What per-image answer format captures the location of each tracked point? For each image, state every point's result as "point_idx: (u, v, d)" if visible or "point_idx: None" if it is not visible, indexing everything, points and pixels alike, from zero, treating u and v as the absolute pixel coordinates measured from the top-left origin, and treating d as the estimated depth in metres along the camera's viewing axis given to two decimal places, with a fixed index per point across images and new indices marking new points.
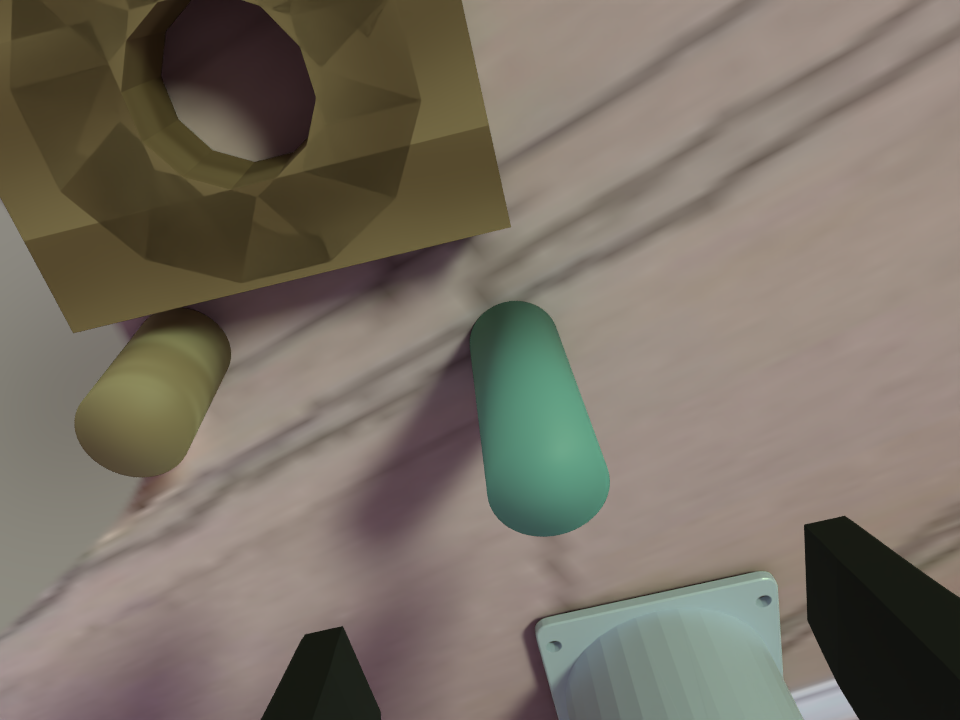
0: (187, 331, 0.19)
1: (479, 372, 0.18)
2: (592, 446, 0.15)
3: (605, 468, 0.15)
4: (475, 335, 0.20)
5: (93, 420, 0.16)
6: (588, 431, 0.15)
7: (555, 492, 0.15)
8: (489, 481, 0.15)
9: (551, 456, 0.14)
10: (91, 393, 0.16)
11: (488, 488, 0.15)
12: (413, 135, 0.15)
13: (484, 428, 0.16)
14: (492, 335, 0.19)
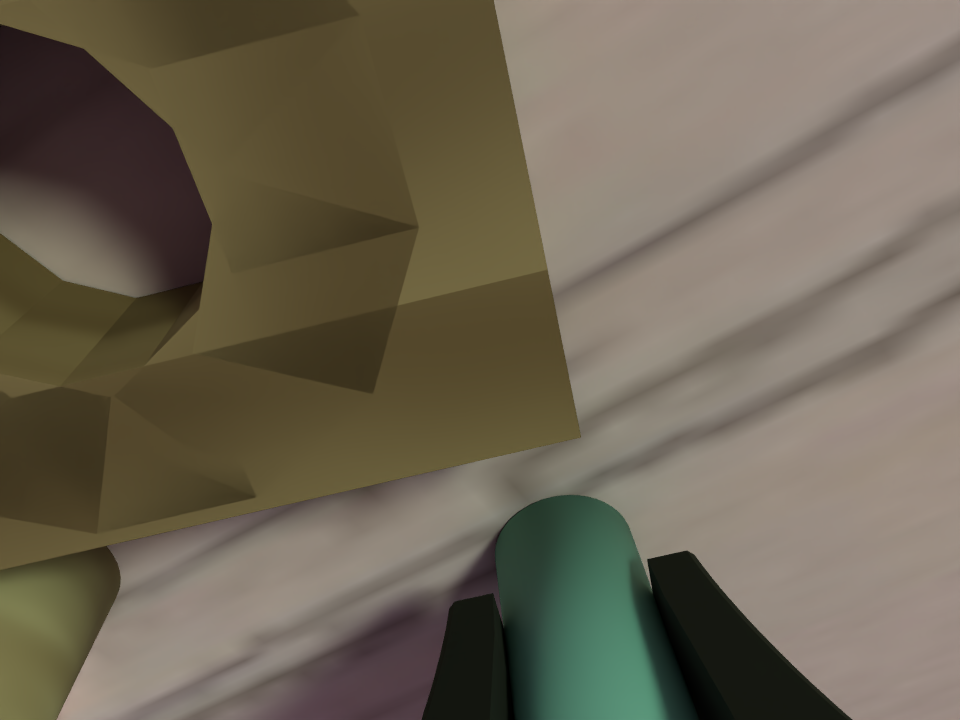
0: (31, 571, 0.11)
1: (517, 652, 0.11)
2: None
3: None
4: (505, 554, 0.12)
5: None
6: None
7: None
8: None
9: None
10: None
11: None
12: (403, 289, 0.08)
13: None
14: (536, 573, 0.11)
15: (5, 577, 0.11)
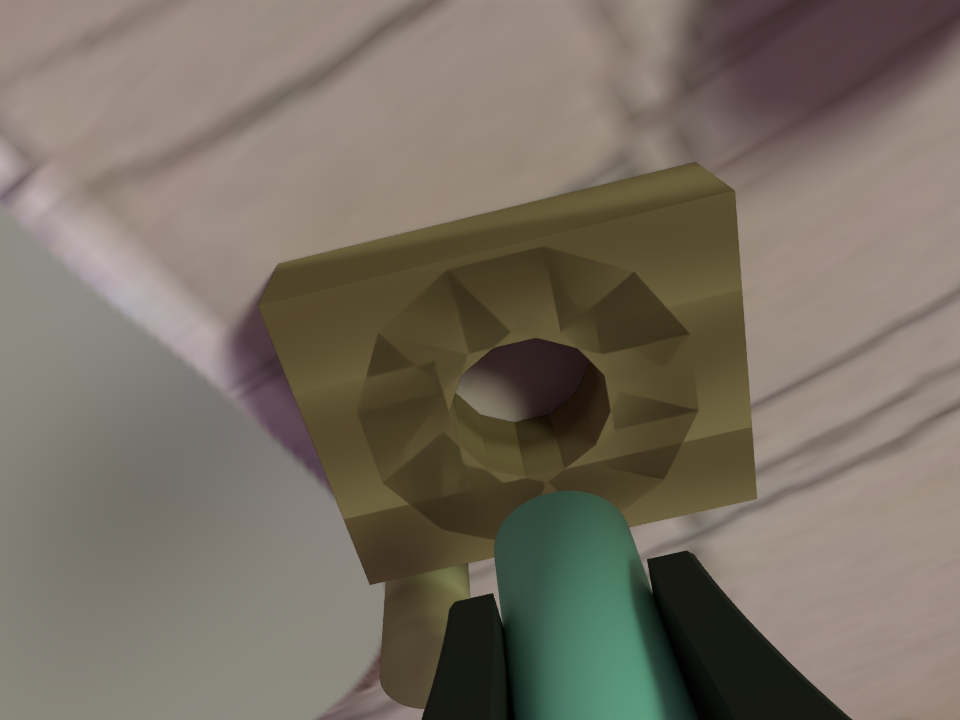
0: None
1: (515, 648, 0.11)
2: None
3: None
4: (503, 552, 0.12)
5: (396, 669, 0.19)
6: None
7: None
8: None
9: None
10: (400, 649, 0.19)
11: None
12: (687, 435, 0.18)
13: None
14: (533, 570, 0.11)
15: None
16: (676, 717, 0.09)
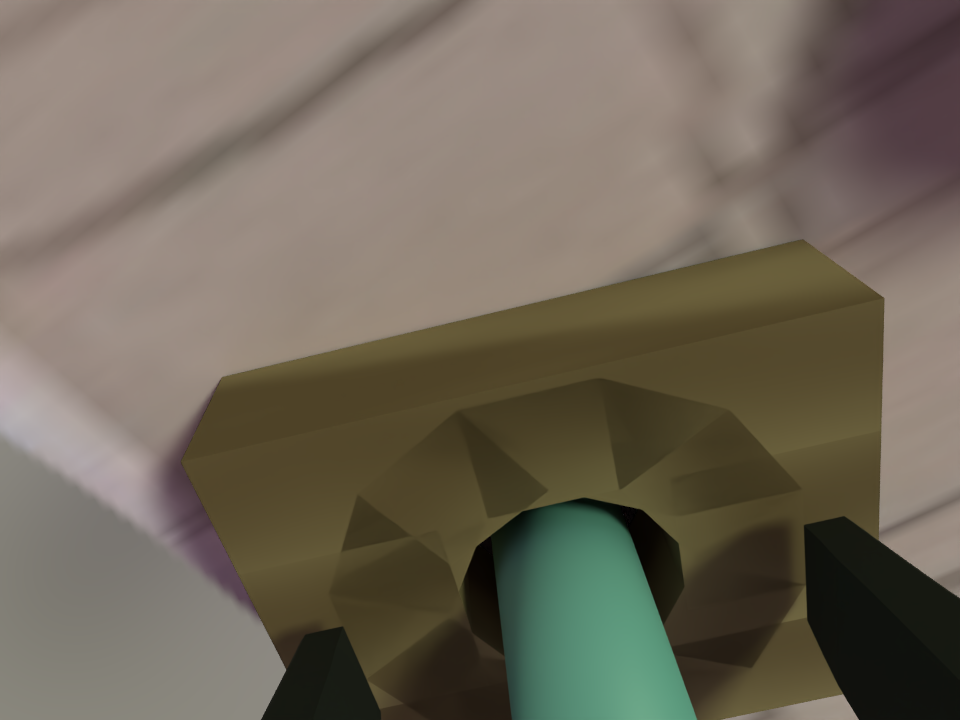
0: None
1: (503, 572, 0.12)
2: None
3: None
4: None
5: None
6: None
7: None
8: None
9: None
10: None
11: None
12: (787, 614, 0.13)
13: (516, 700, 0.10)
14: None
15: None
16: (642, 620, 0.10)
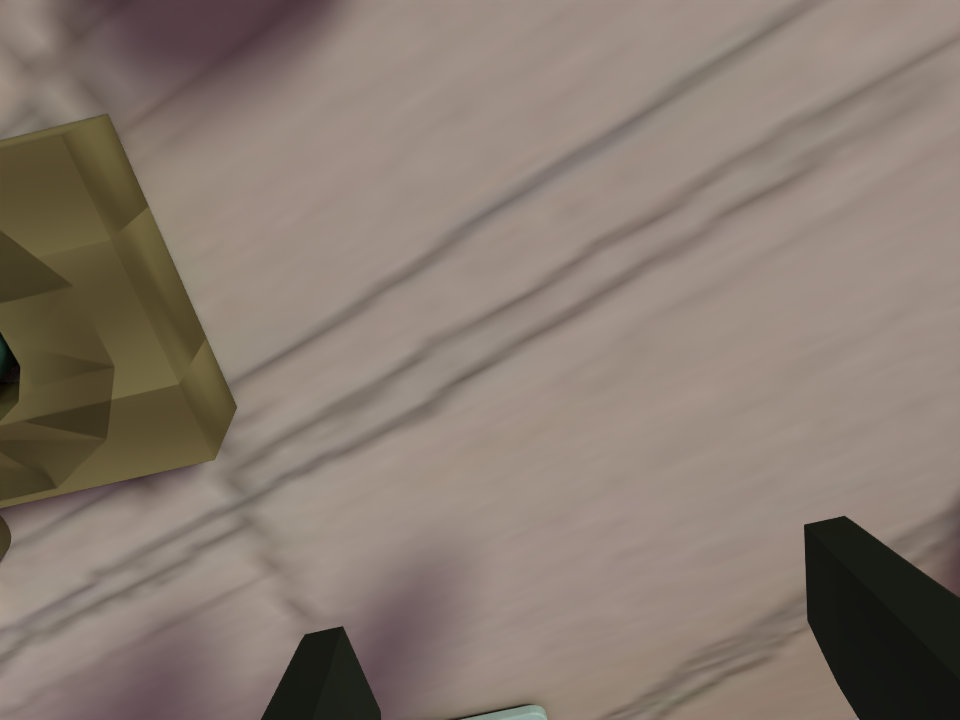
0: None
1: None
2: None
3: None
4: None
5: None
6: None
7: None
8: None
9: None
10: None
11: None
12: (113, 392, 0.18)
13: None
14: None
15: None
16: None
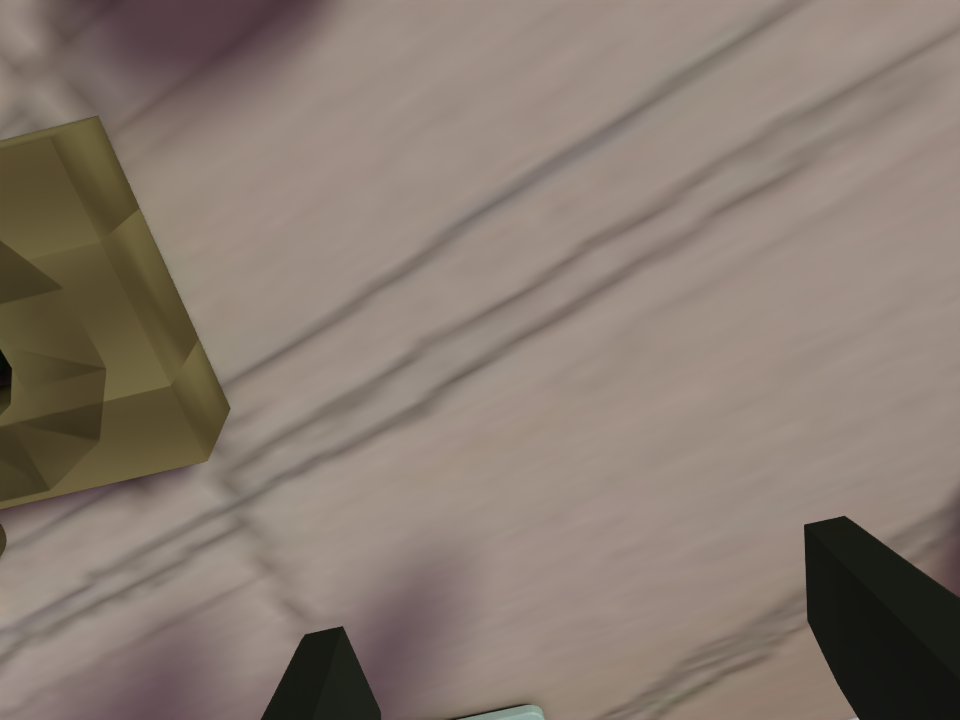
0: None
1: None
2: None
3: None
4: None
5: None
6: None
7: None
8: None
9: None
10: None
11: None
12: (105, 394, 0.18)
13: None
14: None
15: None
16: None
